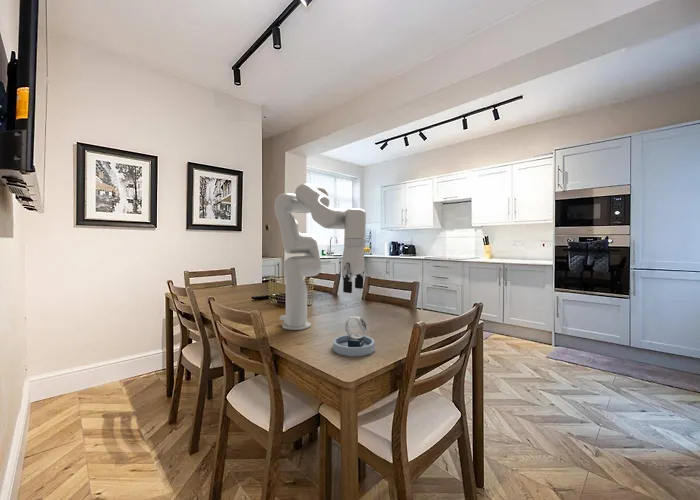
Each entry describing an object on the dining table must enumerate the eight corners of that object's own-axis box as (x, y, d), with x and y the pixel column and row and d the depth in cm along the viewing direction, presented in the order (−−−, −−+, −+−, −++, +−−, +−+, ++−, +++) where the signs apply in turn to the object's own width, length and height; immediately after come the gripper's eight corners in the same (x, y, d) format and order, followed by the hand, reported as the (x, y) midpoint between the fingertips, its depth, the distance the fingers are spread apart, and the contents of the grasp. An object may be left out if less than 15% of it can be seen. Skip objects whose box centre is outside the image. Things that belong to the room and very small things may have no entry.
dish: (325, 351, 115) (325, 343, 115) (344, 339, 129) (344, 332, 129) (364, 359, 109) (364, 350, 109) (380, 345, 122) (380, 338, 122)
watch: (364, 350, 115) (365, 319, 114) (343, 347, 117) (343, 317, 117) (368, 345, 120) (368, 315, 120) (347, 343, 122) (347, 314, 122)
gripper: (355, 242, 127) (354, 285, 128) (333, 243, 111) (332, 293, 112) (373, 243, 123) (371, 287, 124) (353, 244, 108) (352, 295, 109)
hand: (353, 290), depth 118 cm, fingers open, 9 cm apart
